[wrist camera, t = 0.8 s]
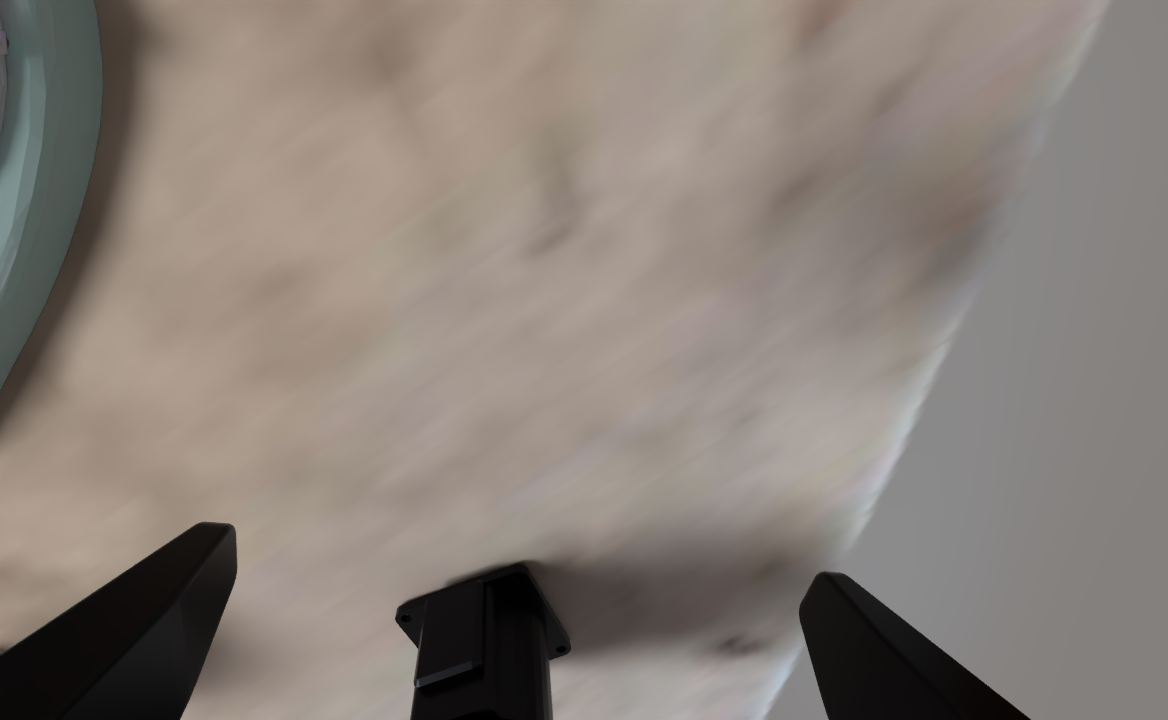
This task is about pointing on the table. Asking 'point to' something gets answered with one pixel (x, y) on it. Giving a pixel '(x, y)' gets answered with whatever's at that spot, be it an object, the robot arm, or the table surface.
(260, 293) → the table surface
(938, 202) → the table surface
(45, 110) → the scale
